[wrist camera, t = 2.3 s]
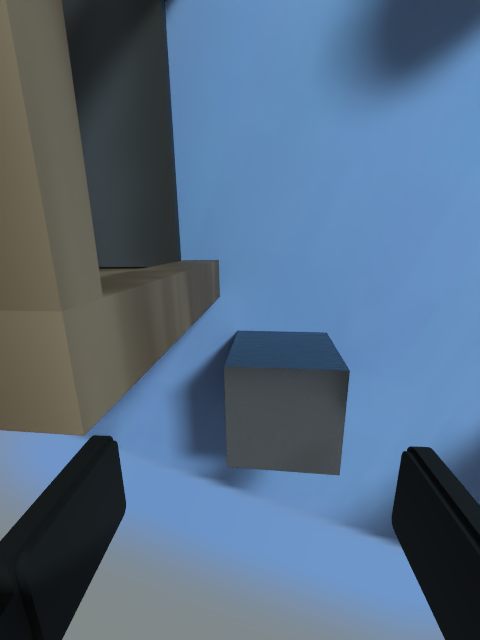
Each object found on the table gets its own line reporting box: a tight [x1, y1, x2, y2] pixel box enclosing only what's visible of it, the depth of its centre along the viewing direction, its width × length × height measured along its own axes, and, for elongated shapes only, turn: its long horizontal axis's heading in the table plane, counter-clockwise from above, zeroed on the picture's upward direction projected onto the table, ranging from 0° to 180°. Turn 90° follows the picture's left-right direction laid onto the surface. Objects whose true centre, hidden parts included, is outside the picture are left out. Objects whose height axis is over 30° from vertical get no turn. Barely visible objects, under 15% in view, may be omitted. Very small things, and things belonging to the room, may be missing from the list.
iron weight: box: [224, 331, 350, 475], centre depth 14 cm, size 5×5×5 cm
